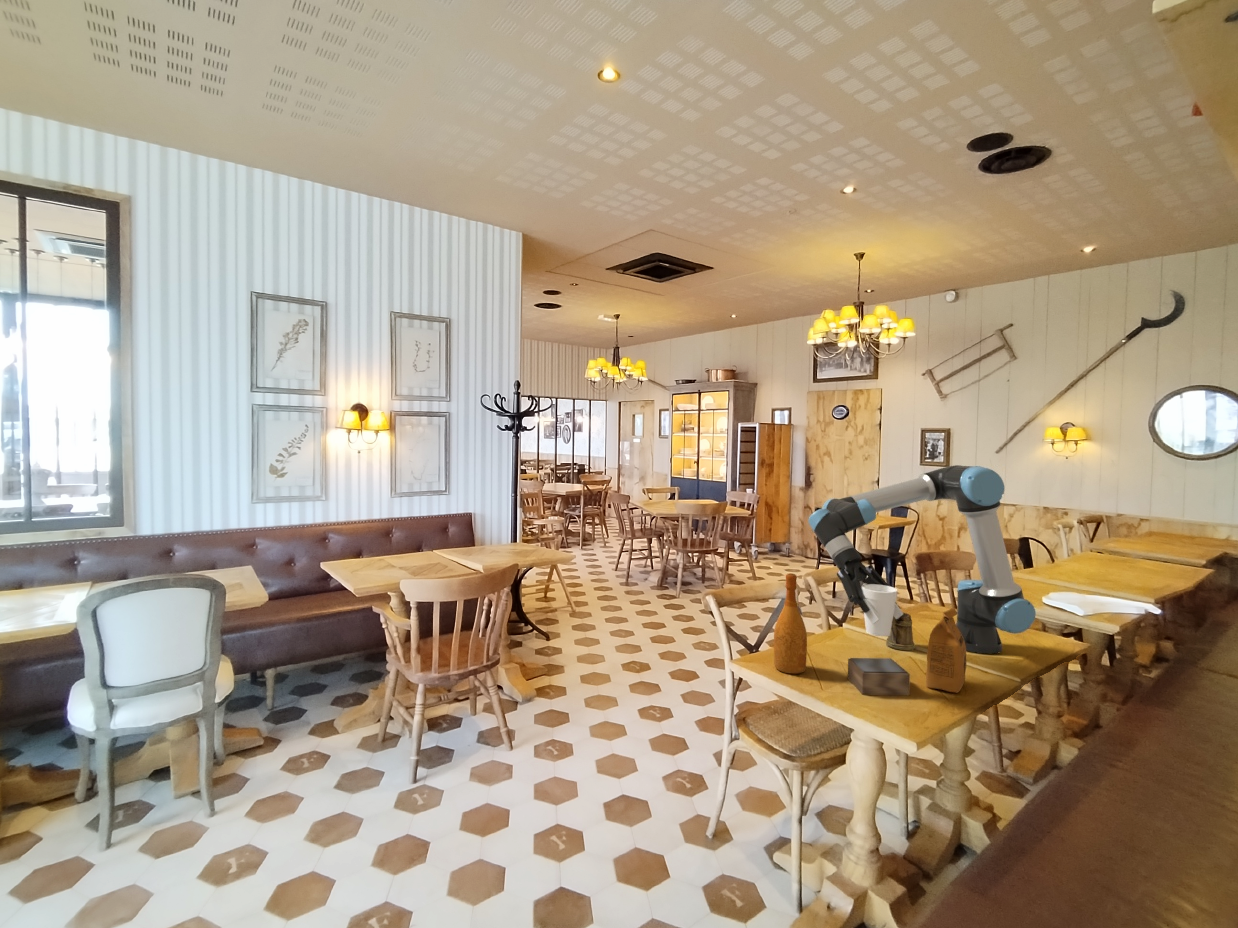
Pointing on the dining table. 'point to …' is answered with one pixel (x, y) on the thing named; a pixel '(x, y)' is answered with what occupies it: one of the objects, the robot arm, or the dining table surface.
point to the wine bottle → (790, 633)
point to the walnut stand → (878, 676)
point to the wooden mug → (901, 633)
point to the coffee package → (946, 655)
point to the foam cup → (880, 607)
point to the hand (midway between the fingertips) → (888, 619)
